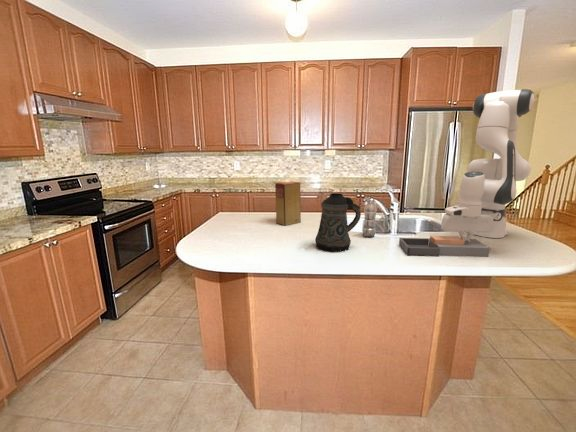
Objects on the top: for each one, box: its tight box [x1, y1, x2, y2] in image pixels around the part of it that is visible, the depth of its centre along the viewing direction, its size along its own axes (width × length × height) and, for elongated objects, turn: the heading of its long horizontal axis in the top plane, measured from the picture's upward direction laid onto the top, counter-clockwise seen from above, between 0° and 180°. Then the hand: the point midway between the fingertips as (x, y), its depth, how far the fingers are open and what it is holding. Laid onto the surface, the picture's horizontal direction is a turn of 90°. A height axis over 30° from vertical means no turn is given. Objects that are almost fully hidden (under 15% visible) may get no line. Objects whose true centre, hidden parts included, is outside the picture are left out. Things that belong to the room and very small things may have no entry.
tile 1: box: [429, 234, 450, 245], centre depth 130 cm, size 6×6×2 cm
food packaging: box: [274, 181, 302, 227], centre depth 180 cm, size 13×9×25 cm
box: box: [398, 237, 440, 257], centre depth 132 cm, size 14×13×4 cm
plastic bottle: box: [362, 197, 378, 237], centre depth 152 cm, size 6×7×20 cm
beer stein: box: [315, 192, 362, 253], centre depth 137 cm, size 16×19×25 cm
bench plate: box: [428, 237, 490, 258], centre depth 130 cm, size 12×20×4 cm, turn 84°
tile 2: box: [444, 235, 465, 245], centre depth 130 cm, size 6×6×2 cm
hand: (464, 241), depth 129 cm, fingers closed
